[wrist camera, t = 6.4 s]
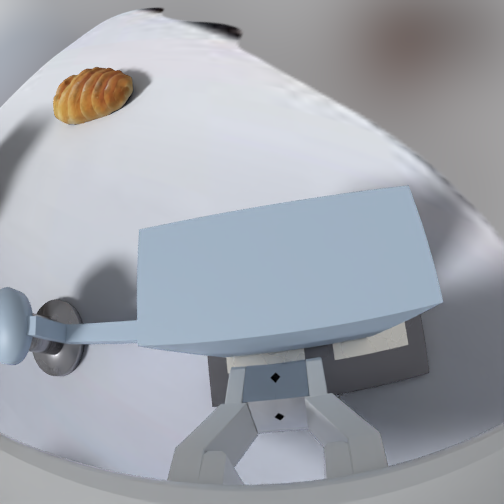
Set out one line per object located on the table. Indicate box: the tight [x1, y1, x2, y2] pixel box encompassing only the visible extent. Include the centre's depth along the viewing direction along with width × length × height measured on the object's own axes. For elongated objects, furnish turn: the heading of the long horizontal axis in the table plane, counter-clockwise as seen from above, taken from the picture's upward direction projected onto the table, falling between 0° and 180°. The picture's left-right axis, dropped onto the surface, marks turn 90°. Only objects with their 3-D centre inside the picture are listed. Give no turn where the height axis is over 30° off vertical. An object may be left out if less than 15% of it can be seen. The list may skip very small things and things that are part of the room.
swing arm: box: [0, 185, 443, 365], centre depth 11 cm, size 21×4×8 cm, turn 96°
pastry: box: [53, 67, 133, 125], centre depth 24 cm, size 9×7×4 cm
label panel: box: [208, 314, 429, 407], centre depth 15 cm, size 9×11×1 cm
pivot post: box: [29, 300, 84, 376], centre depth 15 cm, size 5×5×4 cm
